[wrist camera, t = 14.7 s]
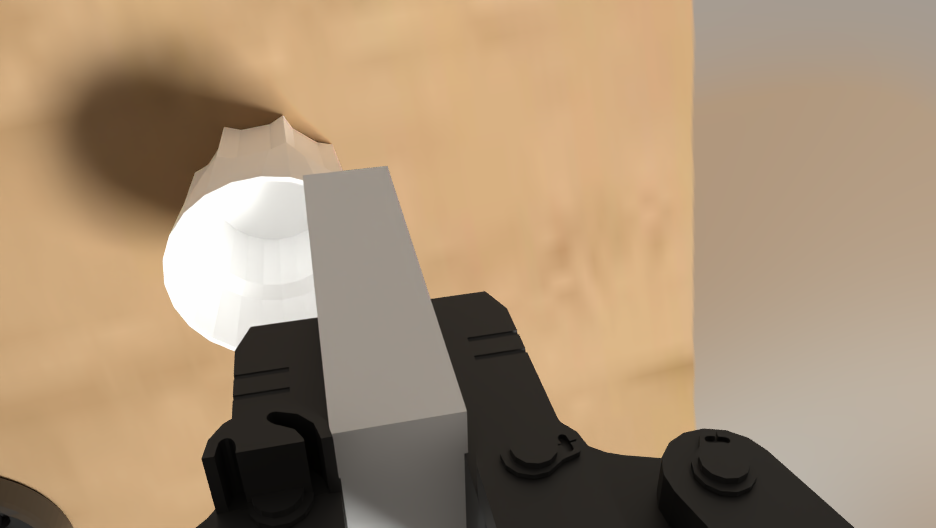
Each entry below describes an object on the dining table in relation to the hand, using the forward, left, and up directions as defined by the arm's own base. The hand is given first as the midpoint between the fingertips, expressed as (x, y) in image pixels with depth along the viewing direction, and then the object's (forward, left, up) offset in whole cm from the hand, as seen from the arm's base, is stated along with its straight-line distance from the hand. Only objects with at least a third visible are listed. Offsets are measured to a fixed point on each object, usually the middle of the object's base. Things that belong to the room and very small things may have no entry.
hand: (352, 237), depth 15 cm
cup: (-3, -13, -31) cm, 33 cm away
